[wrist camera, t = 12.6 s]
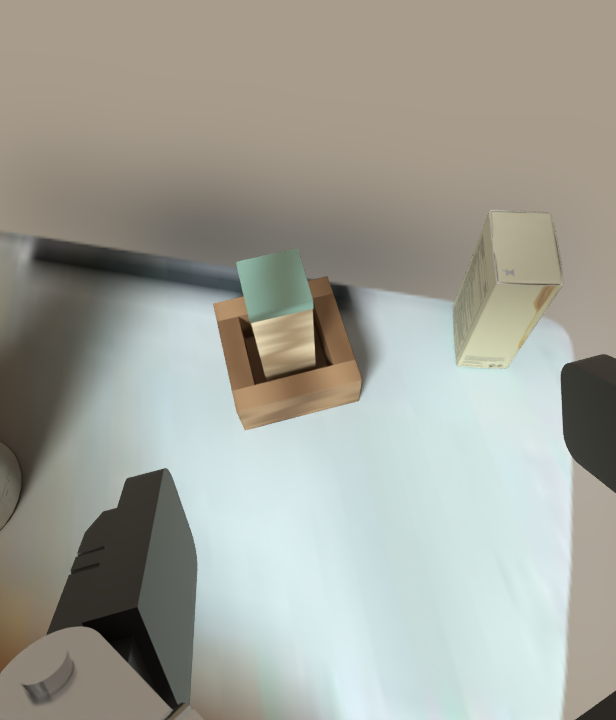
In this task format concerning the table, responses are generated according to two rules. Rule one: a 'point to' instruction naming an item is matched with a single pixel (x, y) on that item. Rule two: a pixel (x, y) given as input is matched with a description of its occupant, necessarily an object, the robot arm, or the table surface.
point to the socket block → (298, 392)
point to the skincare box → (506, 287)
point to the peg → (280, 312)
